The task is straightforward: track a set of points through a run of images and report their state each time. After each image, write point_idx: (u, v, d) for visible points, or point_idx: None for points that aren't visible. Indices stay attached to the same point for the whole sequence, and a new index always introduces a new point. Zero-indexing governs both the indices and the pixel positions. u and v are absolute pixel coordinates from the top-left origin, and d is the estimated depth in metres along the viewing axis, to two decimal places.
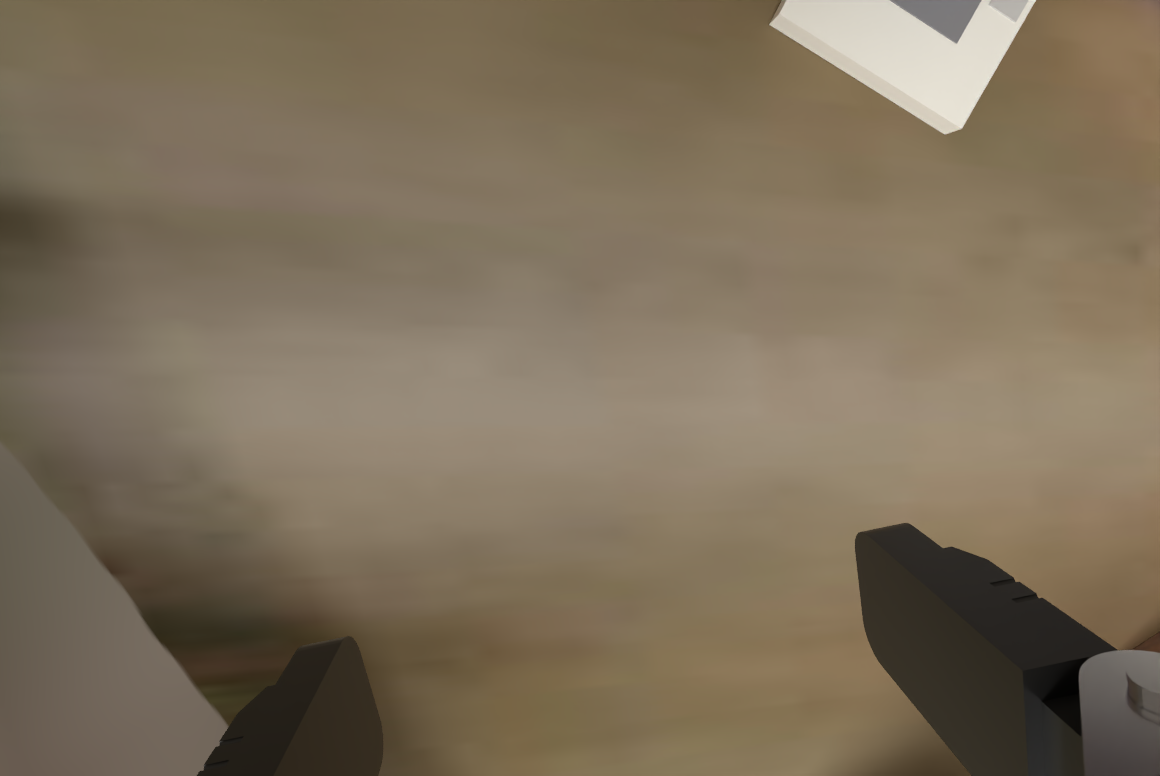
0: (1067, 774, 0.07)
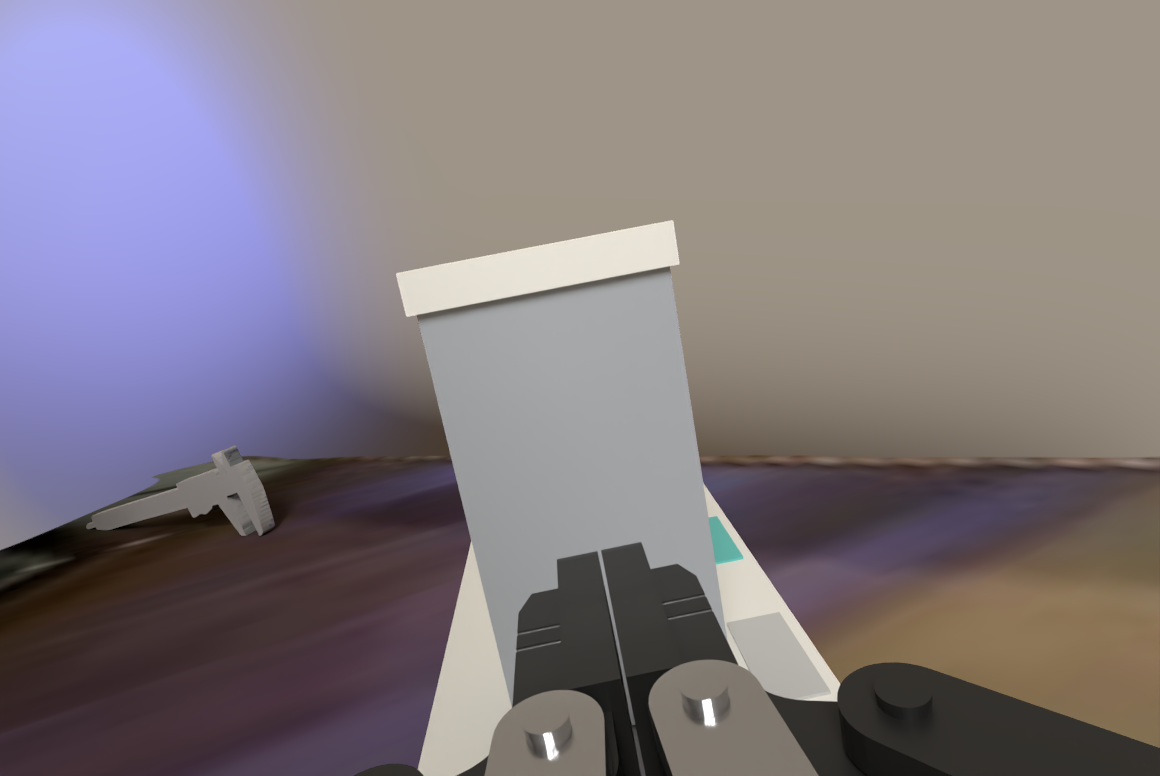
0: (660, 766, 0.08)
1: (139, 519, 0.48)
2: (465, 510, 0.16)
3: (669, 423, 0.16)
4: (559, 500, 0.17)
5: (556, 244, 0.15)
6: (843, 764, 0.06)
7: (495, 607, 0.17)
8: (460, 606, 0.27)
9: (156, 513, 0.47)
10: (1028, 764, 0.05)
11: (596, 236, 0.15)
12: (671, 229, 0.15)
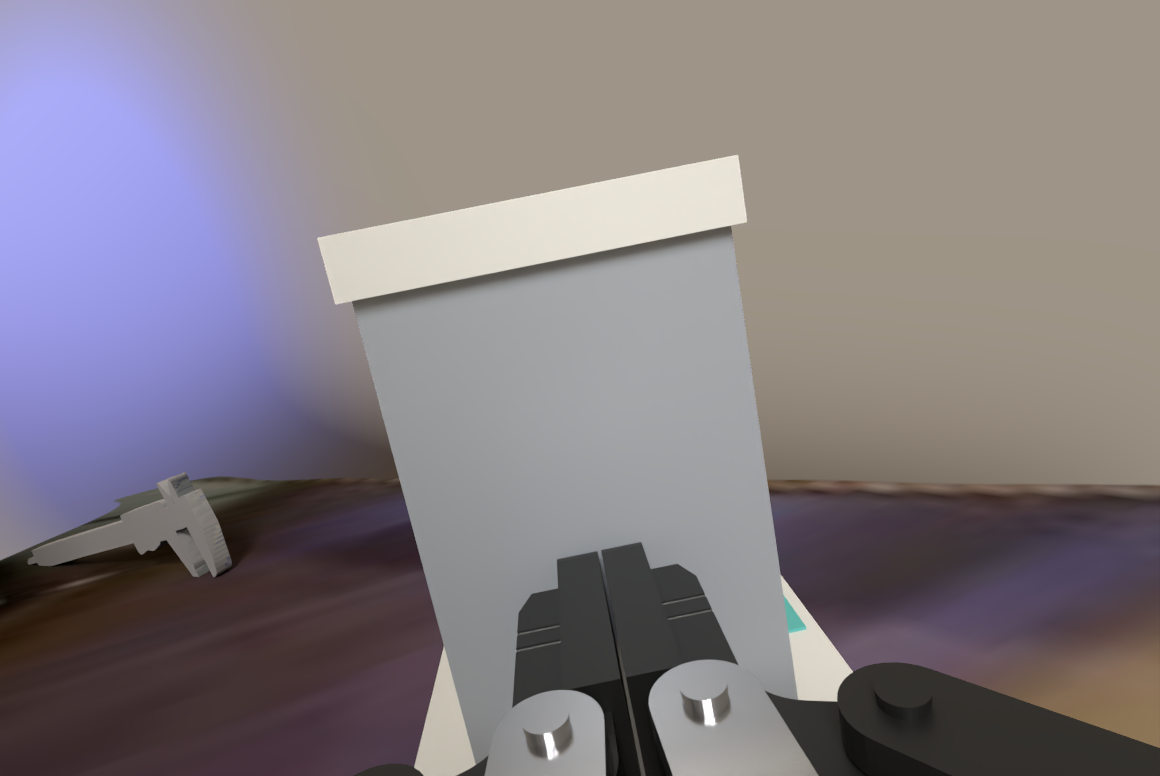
0: (660, 766, 0.08)
1: (82, 555, 0.42)
2: (430, 588, 0.11)
3: (728, 460, 0.11)
4: None
5: (561, 192, 0.10)
6: (843, 764, 0.06)
7: (476, 724, 0.12)
8: (438, 691, 0.20)
9: (100, 548, 0.41)
10: (1028, 764, 0.05)
11: (622, 180, 0.10)
12: (735, 169, 0.10)
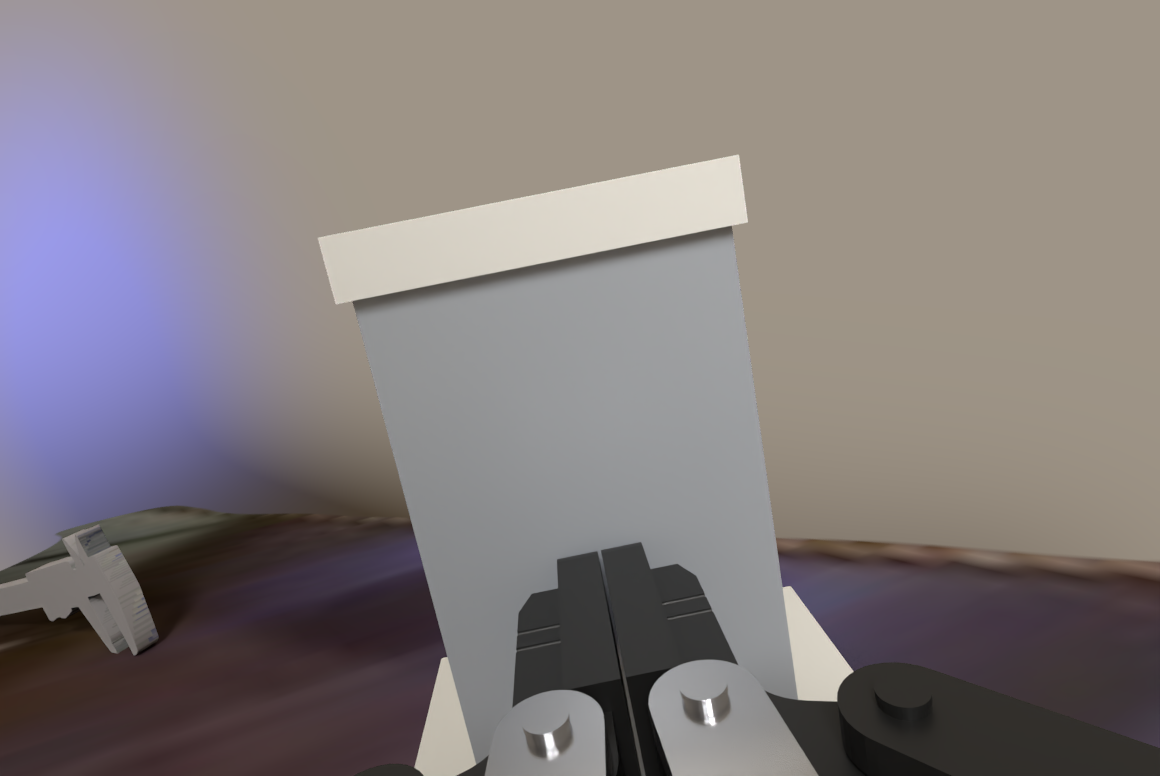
0: None
1: None
2: (431, 588, 0.11)
3: (728, 460, 0.11)
4: None
5: (561, 192, 0.10)
6: (843, 764, 0.06)
7: (476, 723, 0.12)
8: None
9: (7, 610, 0.34)
10: (1028, 764, 0.05)
11: (622, 180, 0.10)
12: (735, 169, 0.10)
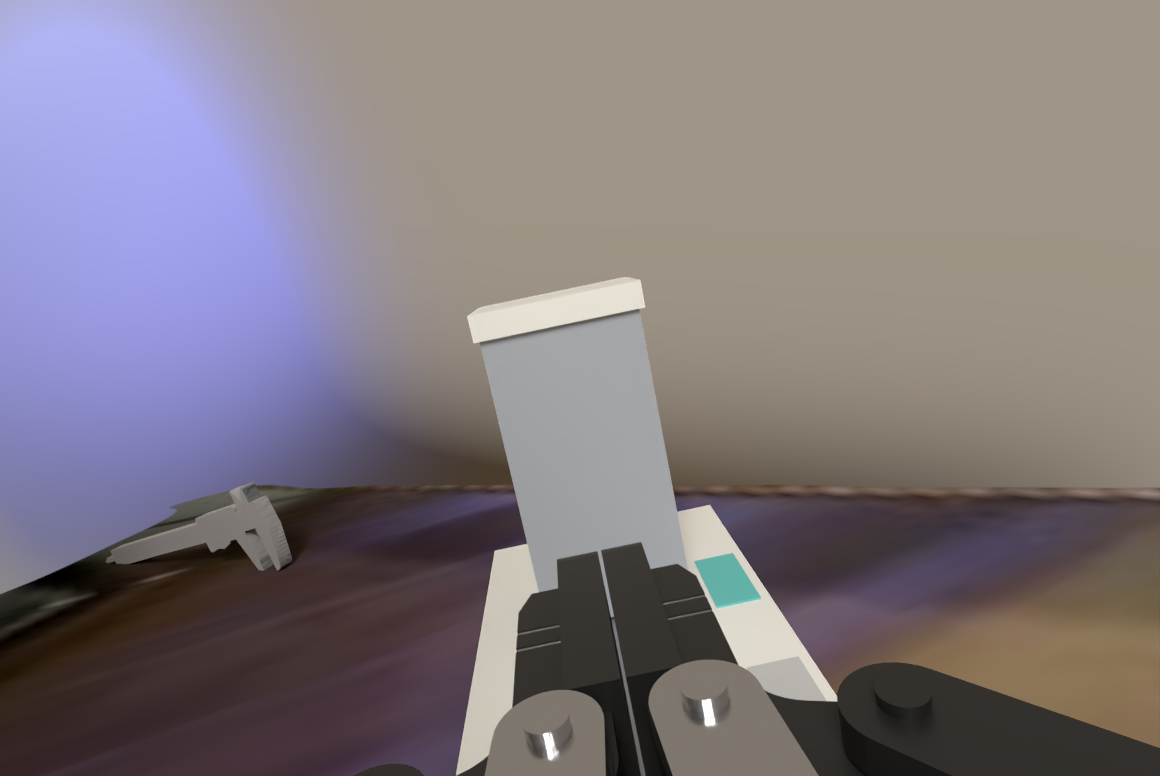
0: (660, 766, 0.08)
1: (158, 553, 0.49)
2: (510, 468, 0.25)
3: (641, 409, 0.25)
4: (571, 460, 0.25)
5: (567, 296, 0.24)
6: (843, 764, 0.06)
7: (530, 533, 0.26)
8: (482, 648, 0.27)
9: (175, 548, 0.48)
10: (1028, 763, 0.05)
11: (592, 291, 0.24)
12: (639, 285, 0.24)
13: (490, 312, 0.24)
